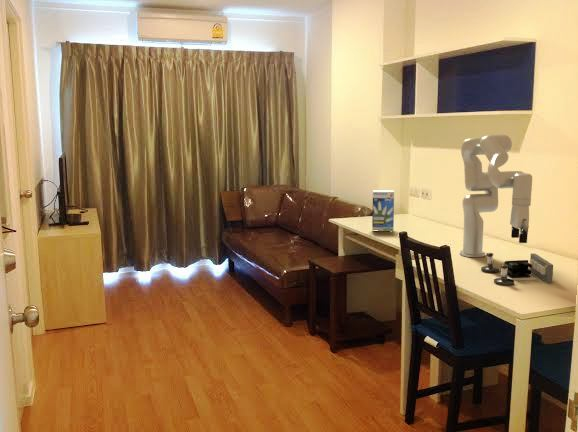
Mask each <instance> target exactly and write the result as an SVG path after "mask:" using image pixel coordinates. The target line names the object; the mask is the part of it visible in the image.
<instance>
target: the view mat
mask: <svg viewBox="0 0 578 432" xmlns="http://www.w3.org/2000/svg"><path fill="white" fill-rule="evenodd" d="M499 274H500V275H501V272H499ZM530 276H531V277H529V278H510V277H508V276H507V278H508V279H512V280H513V281H526V280H527V281H533V280H534V281H536V280H537V279H536V278H535V277H534V276H532V274H531V275H530Z"/></svg>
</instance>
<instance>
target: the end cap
mask: <svg viewBox="0 0 578 432" xmlns="http://www.w3.org/2000/svg"><path fill="white" fill-rule="evenodd" d="M503 264H506V265H508V269H507V276H508V277H510V278H529V277H531V276H532V273H533V272H532V271H531V270H530V268H532V264H530V262H529V260H528V259H522V260H520V259H517V260H505V261H504V262H503ZM530 275H531V276H530Z"/></svg>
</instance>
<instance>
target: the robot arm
mask: <svg viewBox="0 0 578 432" xmlns="http://www.w3.org/2000/svg"><path fill="white" fill-rule="evenodd" d="M512 146H513V142H512V139H511V138H510V136H508V135H507V134H488V135H485V136H483V137H471V138H467V139H465V140H464V141H463V142H462V143H461V148H460V152H461V158H462V161H463V167H464V169H463V170H464V185H465V189H466V190H467V191H469V192H484V193H473V194H468V195H465V196H464V197H463V199H462V208H463V235H462V236H463V238H462V239H463V240H462V242H463V243H462V250H460V251H459V255H461V256H463V257H467V258H483V257H485V256H486V252H485V251H483V244H484V243H483V242H484V220H483V217H482V216H481V214H480V213H494V212H495V211H497V209H498V207H499V189H512V196H511V212H510V220H509V221H510V222H509V224H510V225H511V238H512V239H515V238H517V239H518V243H519V244H527V243H528V235H529V228H530V227H529V225H530V206H531V204H532V189H533V188H532V187H533V175H532V174H530V173H526V172H523V171H522V170H508V171H506V170H504V171H500V170H499V168H501V167H502V166H504V165H505V164H506V163H507V162H508V160H509V154H508V152H510V151H511V149H512ZM483 155H484V156H486V159H487V160H488V161H489V163H488V166H487V171H486V172H485V171H484V172H483V164H482V161H481V160H480V158H479V157H478V156H483Z"/></svg>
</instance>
